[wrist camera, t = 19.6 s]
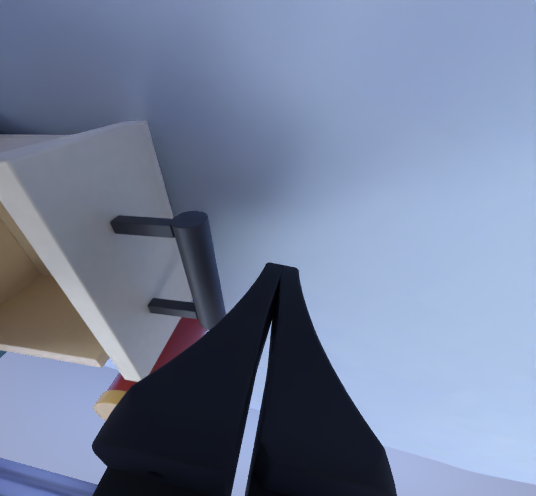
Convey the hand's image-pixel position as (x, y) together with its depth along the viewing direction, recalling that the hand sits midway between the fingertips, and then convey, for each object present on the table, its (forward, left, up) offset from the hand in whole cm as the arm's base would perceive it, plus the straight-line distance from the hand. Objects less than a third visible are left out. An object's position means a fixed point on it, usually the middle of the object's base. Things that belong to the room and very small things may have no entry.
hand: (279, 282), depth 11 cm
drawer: (0, -11, -4) cm, 12 cm away
